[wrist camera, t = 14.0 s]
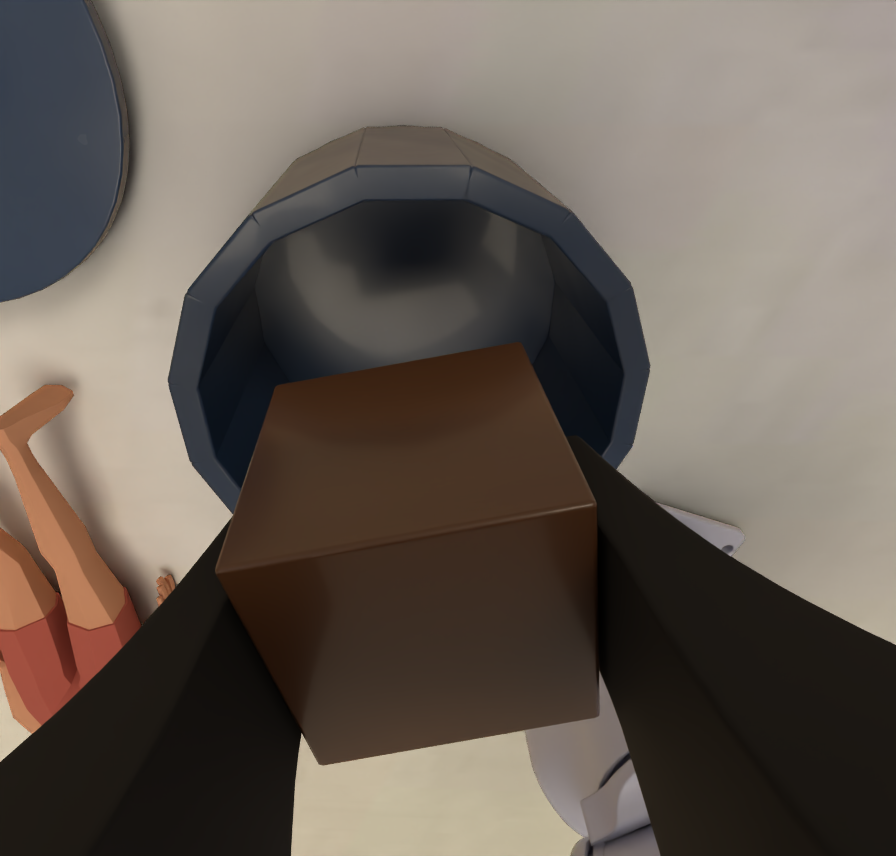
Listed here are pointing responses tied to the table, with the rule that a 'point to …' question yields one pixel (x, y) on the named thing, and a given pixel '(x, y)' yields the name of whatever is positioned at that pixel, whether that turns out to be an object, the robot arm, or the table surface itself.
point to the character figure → (32, 597)
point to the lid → (56, 141)
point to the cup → (403, 292)
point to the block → (418, 556)
